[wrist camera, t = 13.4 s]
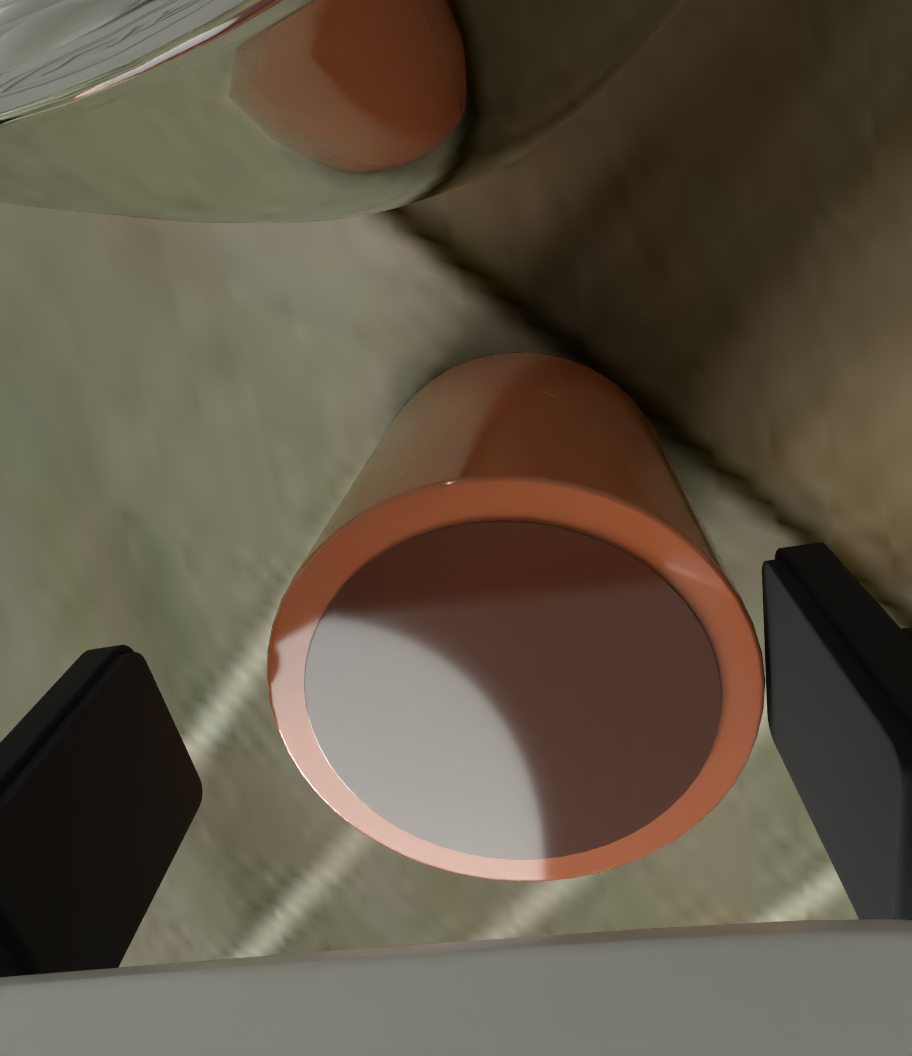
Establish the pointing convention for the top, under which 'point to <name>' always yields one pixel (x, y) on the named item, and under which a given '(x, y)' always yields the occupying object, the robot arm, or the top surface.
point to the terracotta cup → (517, 634)
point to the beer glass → (291, 99)
